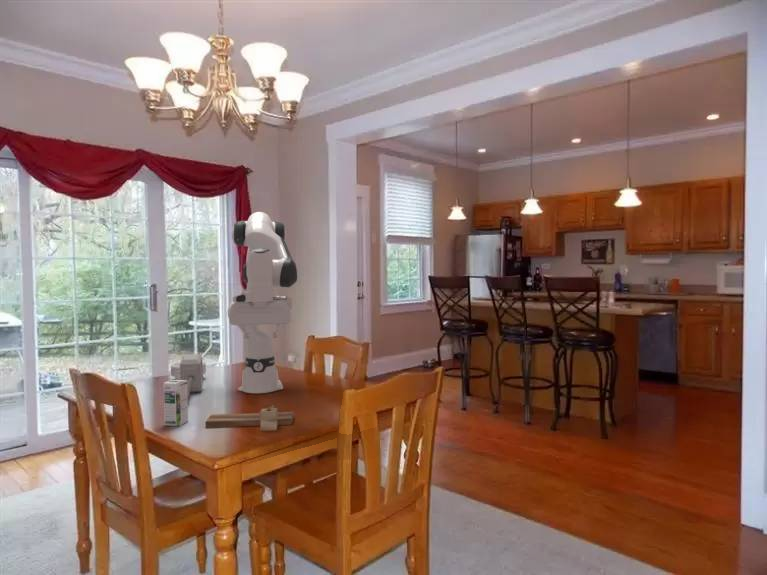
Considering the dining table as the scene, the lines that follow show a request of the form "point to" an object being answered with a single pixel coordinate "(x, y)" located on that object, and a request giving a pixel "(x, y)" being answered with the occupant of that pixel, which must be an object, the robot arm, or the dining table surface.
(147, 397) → the dining table surface
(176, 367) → the gray cross block
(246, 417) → the plank
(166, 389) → the syrup box
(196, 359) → the hammer
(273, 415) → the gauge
